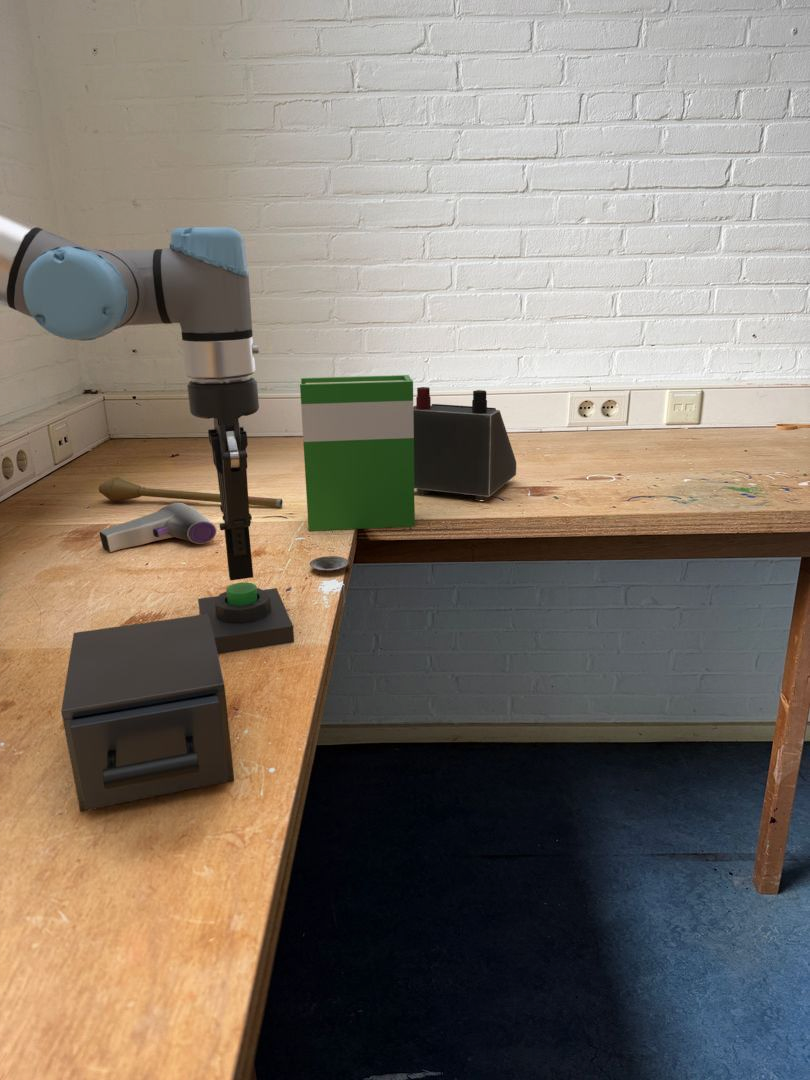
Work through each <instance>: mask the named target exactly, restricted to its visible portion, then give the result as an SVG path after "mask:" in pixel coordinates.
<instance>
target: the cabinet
mask: <svg viewBox="0 0 810 1080" xmlns="http://www.w3.org/2000/svg"><path fill="white" fill-rule="evenodd" d="M225 686H226V685H225V682H224V677H223V672H222V666H221V662H220V658H219V654H218V653H217V648H216V643H215V639H214V634H213V629H212V625H211V620H210V615H209V614H204V615H200V614H196V615H191V616H184V617H175V618H169V619H162V620H157V621H148V622H141V623H134V624H126V625H119V626H112V627H106V628H105V627H104V628H98V629H91V630H85V631H77V632H73V634H72V641H71V647H70V653H69V659H68V665H67V671H66V678H65V685H64V691H63V698H62V703H61V710H60V712H61V717H62V723H63V728H64V734H65V739H66V744H67V749H68V750H67V751H68V755H69V760H70V766H71V771H72V777H73V781H74V787H75V793H76V798H77V803H78V809H79V812H86V811H85V806H84V801H83V795H82V790H81V784H80V779H79V773H78V768H77V762H76V757H75V752H74V746H73V741H72V735H71V730H70V726H71V720H74V719H80V718H83V716H86V715H92V714H98V713H104V712H110V711H115V710H121V709H127V708H133V707H139V706H145V705H151V704H157V703H163V702H169V701H174V700H180V699H186V698H192V697H198V696H204V695H209V696H215V695H218V698H219V704H220V713H221V722H222V731H223V740H224V750H225V759H226V768H227V777H228V781H227V782H222V783H217V784H212V785H208V786H203V787H198V788H193V789H188V790H183V791H178V792H173V793H168V794H163V795H158V796H153V797H148V798H143V799H138V800H133V801H132V802H134V801H135V802H136V801H141V800H145V799H151V798H155V797H156V798H157V797H161V796H166V795H171V794H175V793H180V792H185V791H190V790H195V789H200V788H206V787H210V786H216V785H220V784H225V783H230V782H234V781H235V774H234V763H233V754H232V744H231V735H230V726H229V725H230V724H229V716H228V715H229V714H228V708H227V707H228V706H227V697H226V687H225ZM125 803H126V804H127V803H131V802H130V801H128V802H123V803H118V804H113V805H108V806H103V807H102V808H106V807H111V806H115V805H116V806H117V805H121V804H125ZM97 809H101V808H100V807H98V808H97ZM92 810H96V809H95V808H93V809H92ZM87 811H90V810H89V809H88V810H87Z"/></svg>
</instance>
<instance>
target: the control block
mask: <svg viewBox="0 0 810 1080" xmlns="http://www.w3.org/2000/svg"><path fill="white" fill-rule="evenodd" d="M257 598H258V600H257V601H256V602H254V603H251V604H249V605H241V606H237V605H230V604H228V603H227V593H226V591H223V592H221V593H219V594H218V595H215V596H209V597H208V596H207V597H201V598H197V603H198V612H199V615H204V614H209V615H210V620H211V625H212V629H213V634H214V639H215V643H216V648H217V653H218V655H223V654H229V653H236V652H243V651H248V650H254V649H261V648H269V647H274V646H280V645H287V644H293V643H295V635H294V633H295V632H294V625H293V623H292V620H291V618H290V615H289V613H288V611H287V609H286V607H285V604H284V602H283V599H282V597H281V595H280V592H279V591H278V588H277V587H275V588H267V589H261V588H258V587H257Z"/></svg>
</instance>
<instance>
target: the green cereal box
mask: <svg viewBox="0 0 810 1080" xmlns="http://www.w3.org/2000/svg"><path fill="white" fill-rule="evenodd" d="M300 380H301V381H300V382H301V383H300V384H299V391H300V392H299V393H300V407H301V409H300V411H301V425H302V441H303V458H304V459H303V460H304V474H305V475H304V478H305V493H306V510H307V525H308V526H307V527H308V532H317V531H318V532H319V531H341V530H361V529H362V530H364V529H384V528H386V529H387V528H407V527H409V528H411V527H415V526H416V525H415V523H416V517H415V516H416V515H415V514H416V513H415V510H416V509H415V504H416V503H415V488H414V418H413V406H414V381H413V380H412V378H411V377H410V375H409V374H395V375H394V374H392V375H360V376H357V375H356V376H327V377H325V376H324V377H323V376H322V377H301V378H300Z"/></svg>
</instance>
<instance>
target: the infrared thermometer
mask: <svg viewBox="0 0 810 1080" xmlns="http://www.w3.org/2000/svg"><path fill="white" fill-rule="evenodd" d="M216 535H217V527H216V525H215V524H214V523H213V522H211V520H209V519H208V518H206V517H205V516H204V515H203V514H202V513H200V512H199V511H198V510H197V509H195V508H194V507H192V506H189V505H188V504H185V503H183V502H173V503H171V504H168V505H165V506H163V507H161V508H160V509H158V510H157V511H155V512H152V513H149V514H146V515H143V516H141V517H138V518H135V519H132V520H128V521H126V522H122V523H119V524H116V525H113V526H110V527H108V528H105V529H103V530H100V531H99V537H100V541H101V544H102V548H103V549H104V550H105V551H107V552H108V553H114V552H116V551H118V550H122V549H128V548H132V547H137V546H142V545H145V544H149V543H152V542H157V541H163V540H167V539H172V538H177V539H181V540H184V541H186V542H189V543H194V544H197V545H202V544H206V543H210V542H211V541H212V540H214V538H215V537H216Z"/></svg>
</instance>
